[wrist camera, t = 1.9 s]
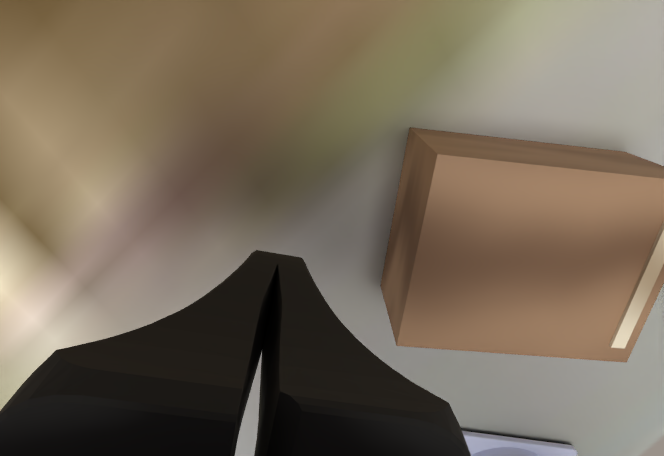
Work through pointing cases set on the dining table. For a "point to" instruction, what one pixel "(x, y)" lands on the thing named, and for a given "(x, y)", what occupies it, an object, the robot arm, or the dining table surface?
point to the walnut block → (523, 247)
